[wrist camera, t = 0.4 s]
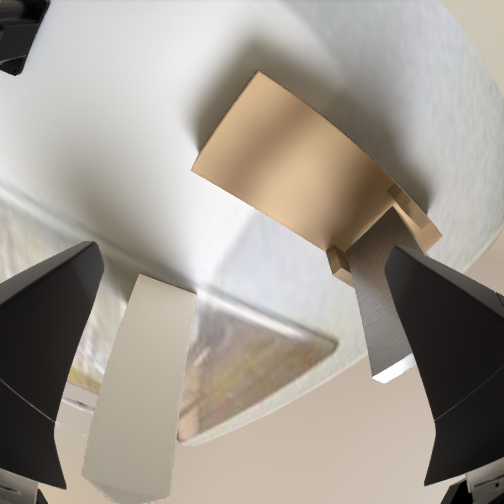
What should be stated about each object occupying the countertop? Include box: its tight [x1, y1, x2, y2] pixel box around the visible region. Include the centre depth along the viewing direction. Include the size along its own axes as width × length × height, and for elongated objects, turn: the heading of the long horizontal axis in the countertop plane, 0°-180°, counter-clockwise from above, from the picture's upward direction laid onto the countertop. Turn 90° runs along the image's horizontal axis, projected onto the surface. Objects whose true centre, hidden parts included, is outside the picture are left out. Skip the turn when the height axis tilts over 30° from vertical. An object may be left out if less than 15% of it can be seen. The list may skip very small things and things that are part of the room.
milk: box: [82, 274, 197, 504], centre depth 19 cm, size 6×6×22 cm
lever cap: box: [345, 205, 429, 383], centre depth 14 cm, size 2×5×10 cm, turn 145°
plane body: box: [191, 70, 443, 288], centre depth 18 cm, size 18×7×5 cm, turn 55°
